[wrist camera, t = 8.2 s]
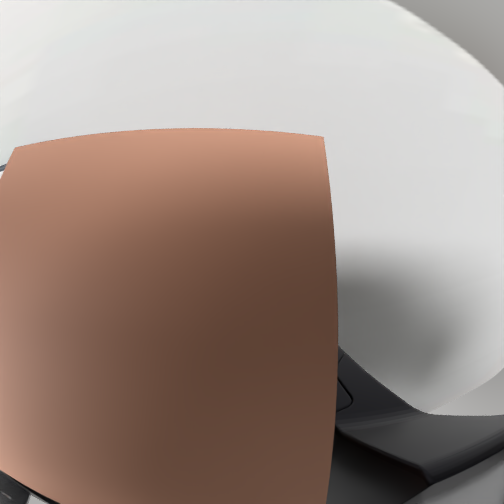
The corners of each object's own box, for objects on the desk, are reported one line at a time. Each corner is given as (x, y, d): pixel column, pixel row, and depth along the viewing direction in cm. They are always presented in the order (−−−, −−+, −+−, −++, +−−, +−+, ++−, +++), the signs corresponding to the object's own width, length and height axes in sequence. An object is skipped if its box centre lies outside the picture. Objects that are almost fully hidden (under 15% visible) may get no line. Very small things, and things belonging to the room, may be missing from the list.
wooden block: (254, 395, 14) (319, 540, 2) (162, 387, 14) (-32, 446, 2) (258, 305, 16) (323, 137, 4) (168, 299, 16) (15, 147, 3)
